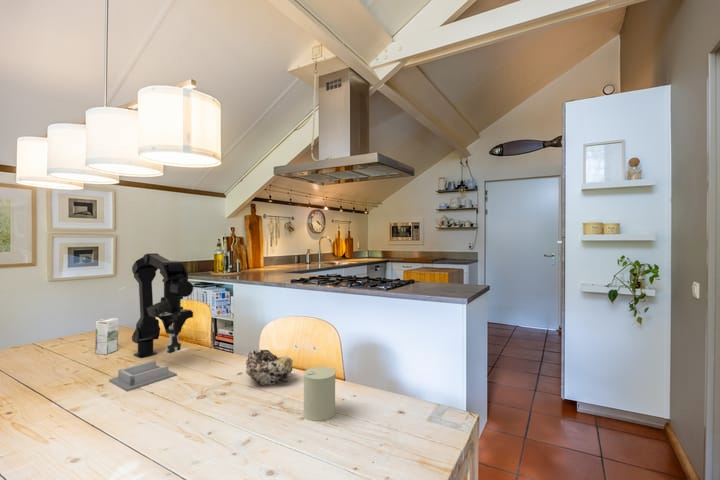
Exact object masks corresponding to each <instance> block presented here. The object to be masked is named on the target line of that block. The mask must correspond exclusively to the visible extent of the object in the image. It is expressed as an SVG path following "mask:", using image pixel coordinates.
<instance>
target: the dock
mask: <svg viewBox="0 0 720 480" xmlns="http://www.w3.org/2000/svg"><path fill="white" fill-rule="evenodd" d="M169 368H170V367H169V365H164V366H159V365H157V360H155V359H154V360H151V361H148V362H143V363H140V364H137V365H133V366H130V367H129V366H128V367H126V368H122V369H118V370H117V371H118V372H117V373H118V375H117V377H113V378H110V379H108V381H109V382H110V383H111V384H113V385H115V386H116V387H118V388H121V389H122V390H124V391H125V392H130V391H132V390H136V389H139V388H142V387H145V386H148V385H152V384H154V383H157V382H160V381H164V380H167V379H169V378H173V377H176V376H178V374H177V372H174V371H172V370H170V369H169Z"/></svg>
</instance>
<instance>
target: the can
mask: <svg viewBox="0 0 720 480" xmlns="http://www.w3.org/2000/svg"><path fill="white" fill-rule="evenodd" d="M336 374H337V372H336V370H335V369H334V368H332V367H329V366H313V367H310V368H308V369H306V370H305V371H304V372H303V412H302V414H303V417H304V418H305V419H307V420H308V421H309V420H310V421H312V422H313V421H314V422H324V421H326V420H327V421H328V420H329V419H331V418H332V417H334V416H335V415H336V411H337V410H336Z"/></svg>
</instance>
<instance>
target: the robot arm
mask: <svg viewBox="0 0 720 480" xmlns="http://www.w3.org/2000/svg"><path fill="white" fill-rule="evenodd" d="M157 270H159V274H160V275H161V276H162V278H163V279H162V283H163V296H161V298H160V301H158V302H157V303H154V301H153V298H154V297H153V280H154V279H155V277H156V276H157ZM131 272H132V274H133V278H134V279H135V280H136V282H137V283H138V293H139V294H138V295H139V297H138V298H139V312H140V313H139V314H140V315H139V319H138V321H137V322H136V325H135V330H134V331H133V334H132V335H131V341H132V342H133V343H135V344H137V352H136V353H134V354H133V356H135V357H136V358H137V357H138V358H140V359H141V358H145V357H150V356H153V355H157V354H158V352H156V351H154V340H159V337H160V333H161V327H160V321H159V320H161V322H162V325H163V327H164V331H165V333H166V335H167V334H168V333H167V330H166V328H168V327H169V326H170V325H173V329H174V335H175V336H178V337H179V334H180V333H181V332H180V330H181V331H182V329H183V326H184V324H185V323H186V322H187V320H188V319H192V318H194V311H193V310H191V309H186V308H185V309H184V307H183V306H181V304H182V302H181V301H182V300H184V298H187V297H189V296H191V295H192V293H193V291H194V286H193V284H192V282H190V281H189V273H188V272H187V269H186V267H185V265H184V263H183V261H179V260H169V259H167V258H166V257H164V256H162V255H160V253H145V254H144V255H142V257H140V258H138V259H137V260H135V262H134V263H133V264H132V268H131ZM157 318H158V319H157ZM181 328H182V329H181ZM179 332H180V333H179ZM168 335H169V334H168Z"/></svg>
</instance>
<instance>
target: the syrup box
mask: <svg viewBox="0 0 720 480" xmlns="http://www.w3.org/2000/svg"><path fill="white" fill-rule="evenodd" d="M119 320H120V319H119V318H116V317H106V318H102V319H98V320H96V321H95V347H94V348H95V349H94V351H95V355H109V354H112V353H114V352H117V351H118V350H119Z"/></svg>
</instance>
